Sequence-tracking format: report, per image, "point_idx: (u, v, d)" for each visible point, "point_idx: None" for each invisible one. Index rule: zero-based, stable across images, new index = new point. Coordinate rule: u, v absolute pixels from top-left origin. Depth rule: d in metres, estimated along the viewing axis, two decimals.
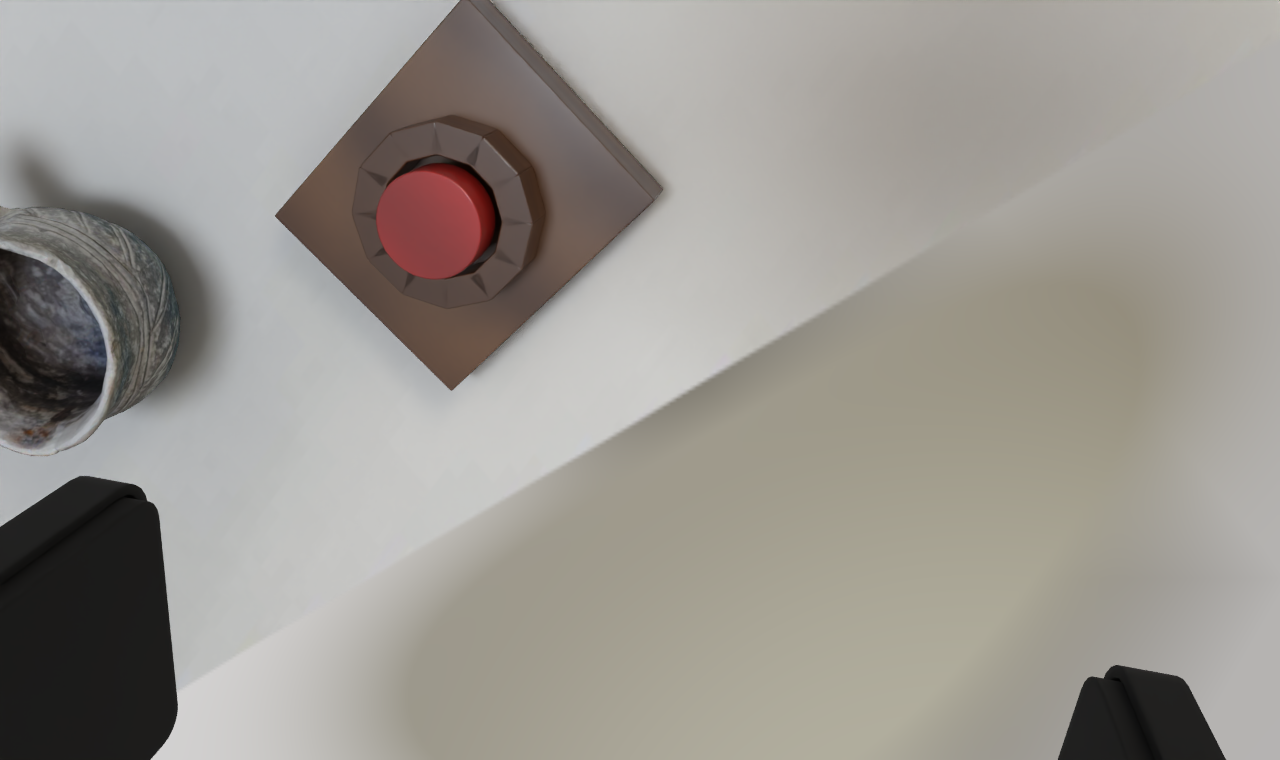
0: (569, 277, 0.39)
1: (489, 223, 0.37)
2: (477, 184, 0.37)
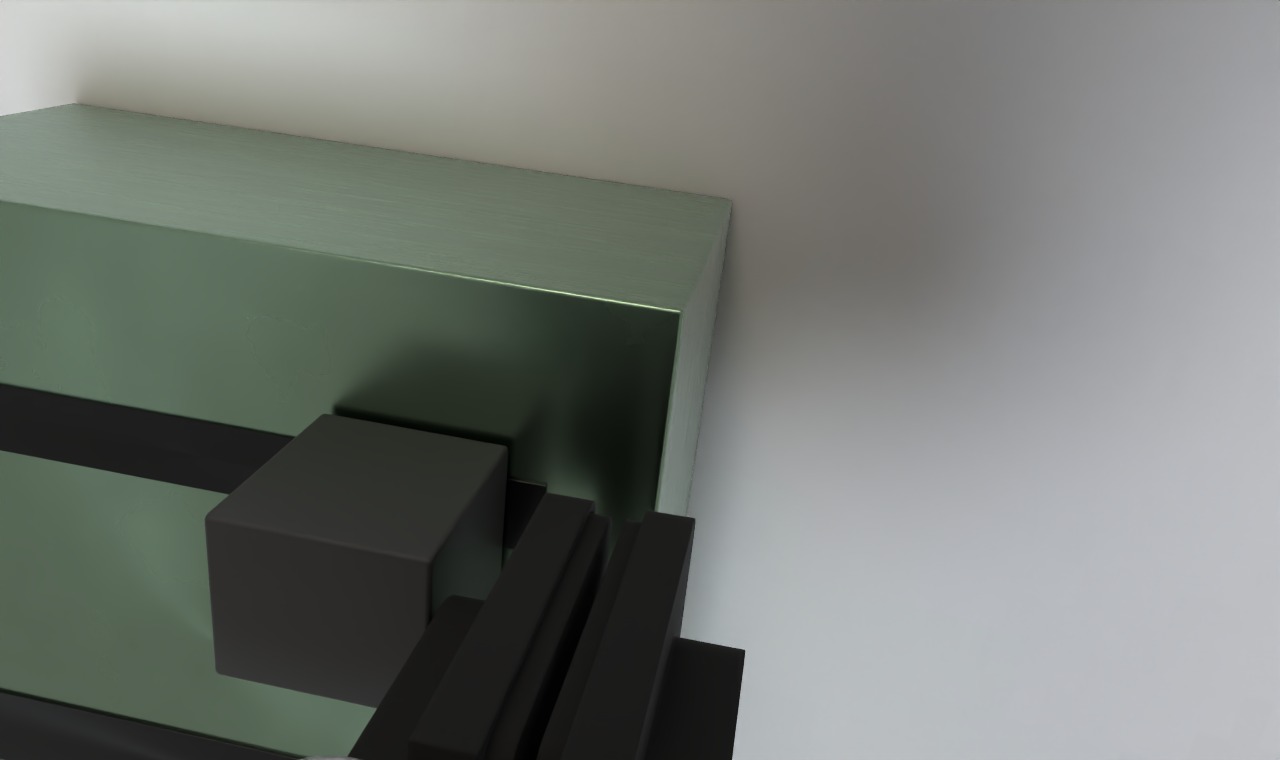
0: None
1: None
2: None
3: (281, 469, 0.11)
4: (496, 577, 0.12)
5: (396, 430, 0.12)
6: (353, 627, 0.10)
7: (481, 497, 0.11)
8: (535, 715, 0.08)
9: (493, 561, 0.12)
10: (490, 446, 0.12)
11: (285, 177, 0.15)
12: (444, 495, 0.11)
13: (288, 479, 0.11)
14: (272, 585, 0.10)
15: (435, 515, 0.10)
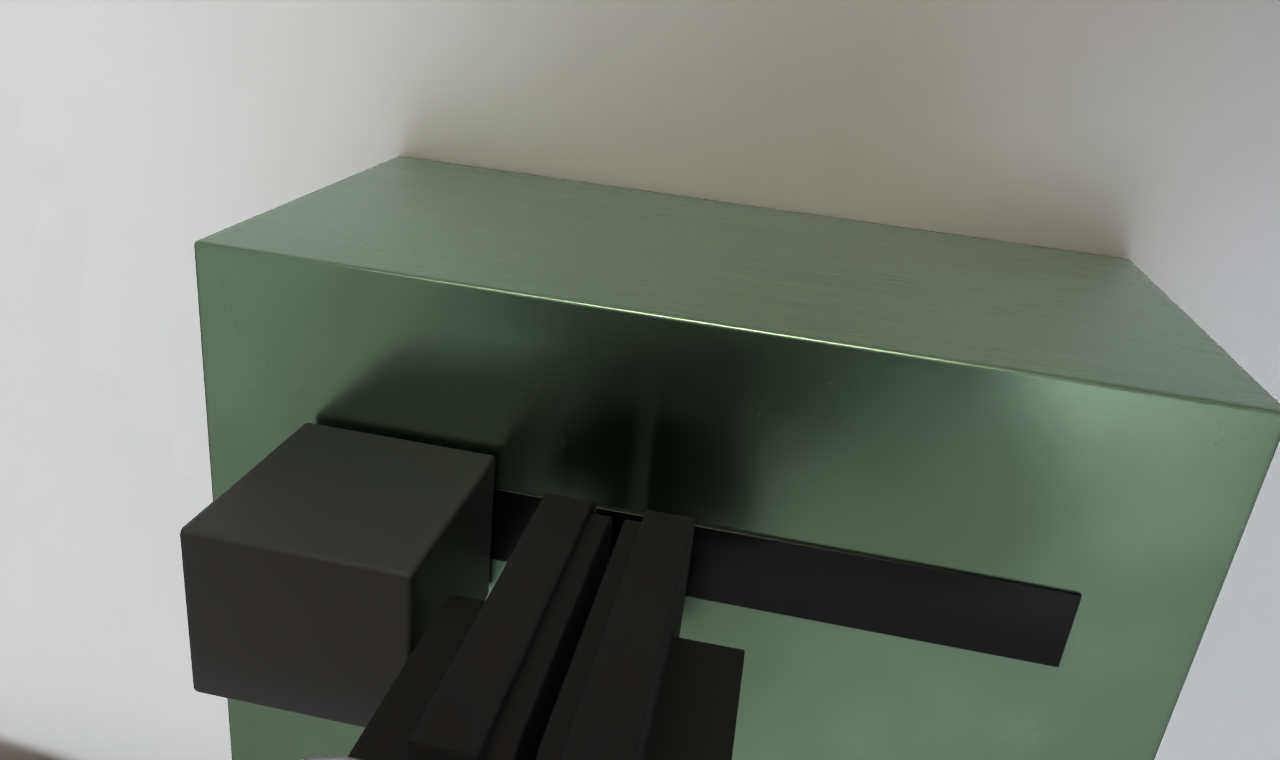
0: None
1: None
2: None
3: (262, 481, 0.11)
4: (484, 590, 0.12)
5: (381, 440, 0.12)
6: (333, 643, 0.10)
7: (467, 508, 0.11)
8: (536, 715, 0.08)
9: (480, 573, 0.12)
10: (477, 456, 0.12)
11: (705, 245, 0.14)
12: (428, 507, 0.11)
13: (268, 491, 0.11)
14: (249, 600, 0.10)
15: (418, 527, 0.10)
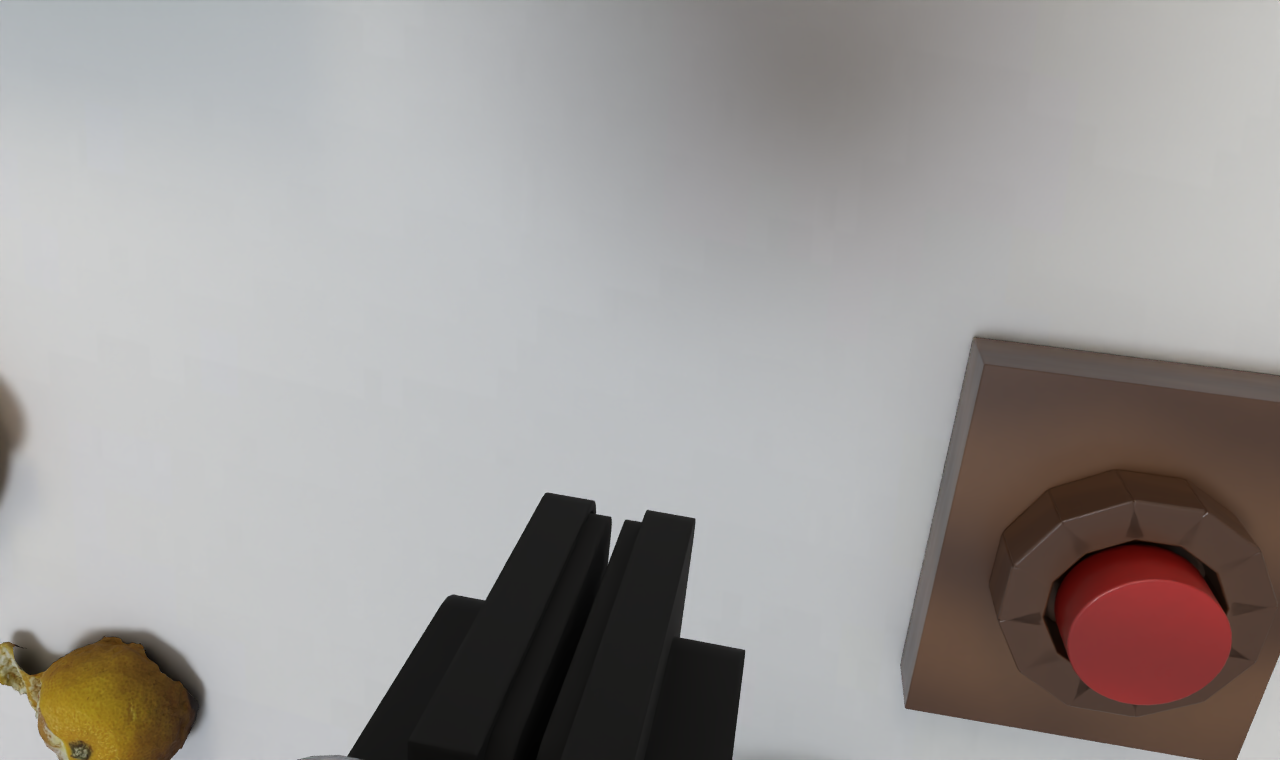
0: None
1: None
2: (1159, 554, 0.27)
3: None
4: None
5: None
6: None
7: None
8: (535, 715, 0.08)
9: None
10: None
11: None
12: None
13: None
14: None
15: None
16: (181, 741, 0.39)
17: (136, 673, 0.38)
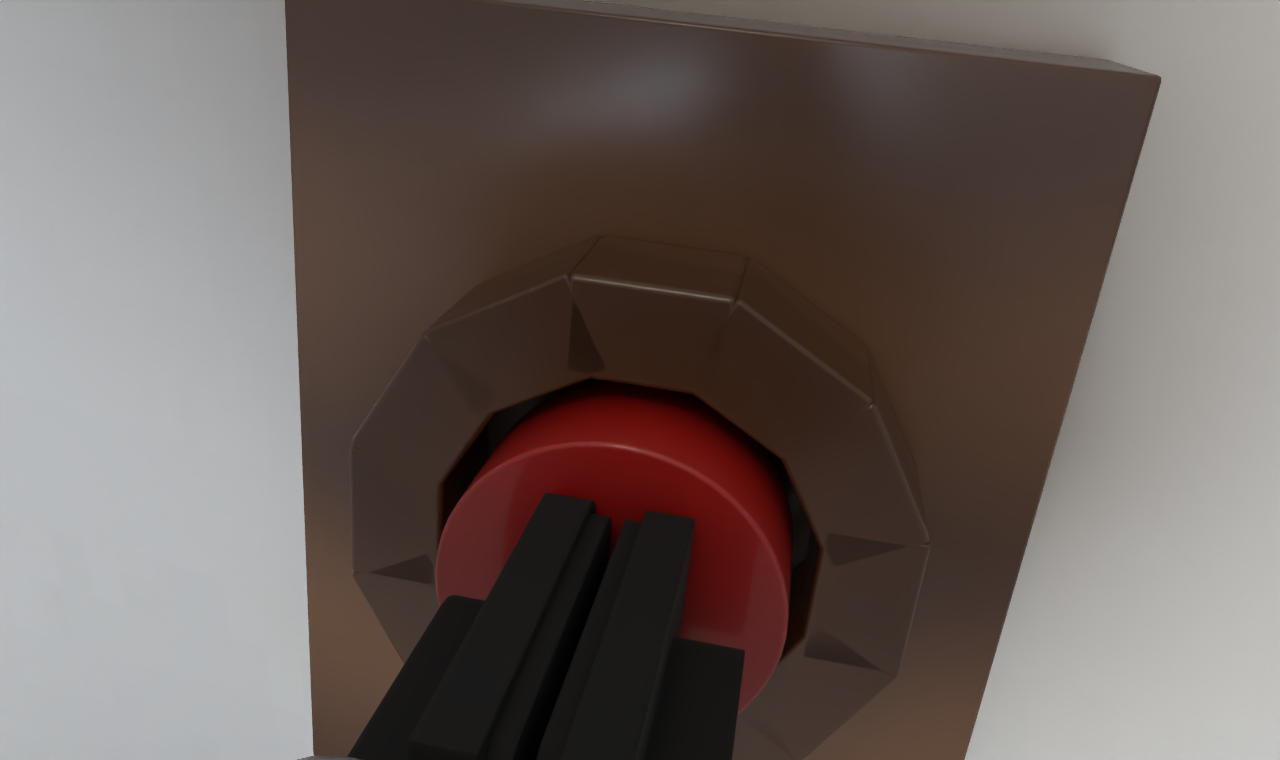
0: (1045, 459, 0.12)
1: (757, 476, 0.11)
2: (652, 398, 0.12)
3: None
4: None
5: None
6: None
7: None
8: (535, 715, 0.08)
9: None
10: None
11: None
12: None
13: None
14: None
15: None
16: None
17: None
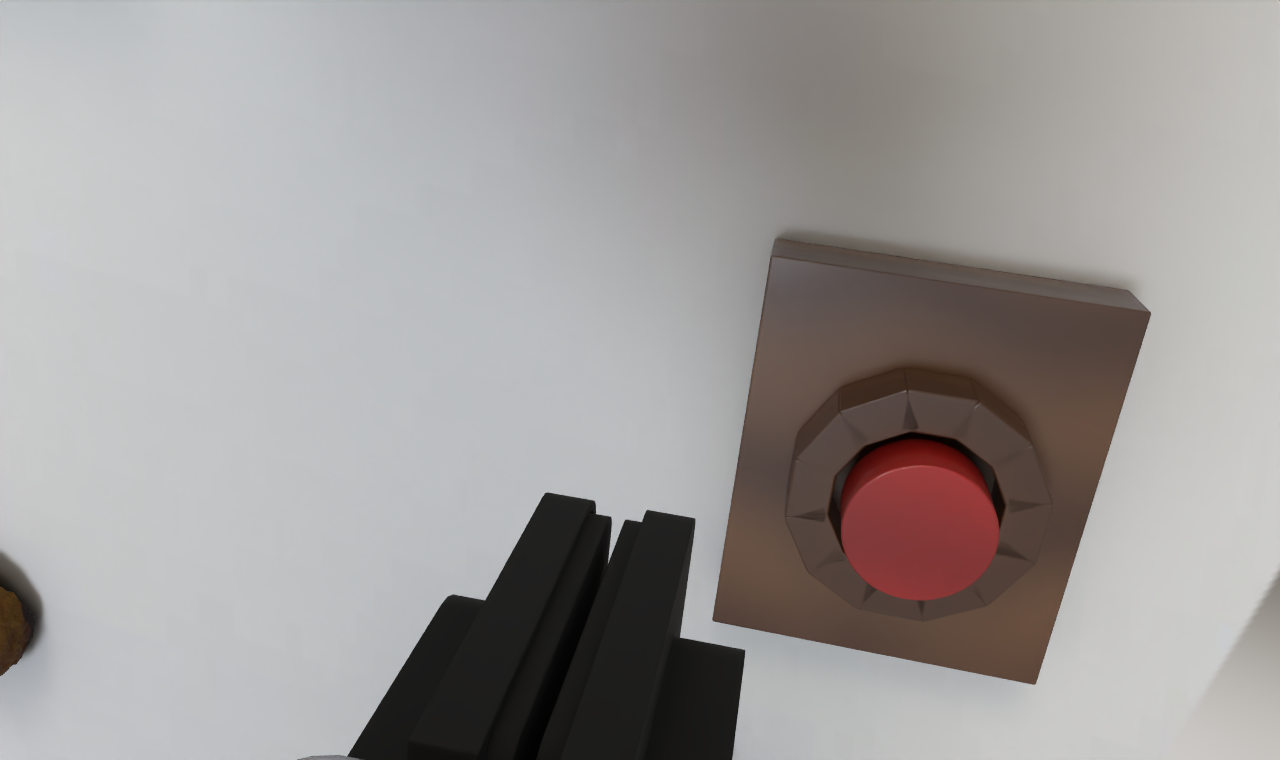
0: (1099, 469, 0.28)
1: (982, 480, 0.26)
2: (935, 446, 0.27)
3: None
4: None
5: None
6: None
7: None
8: (535, 715, 0.08)
9: None
10: None
11: None
12: None
13: None
14: None
15: None
16: (13, 654, 0.39)
17: None
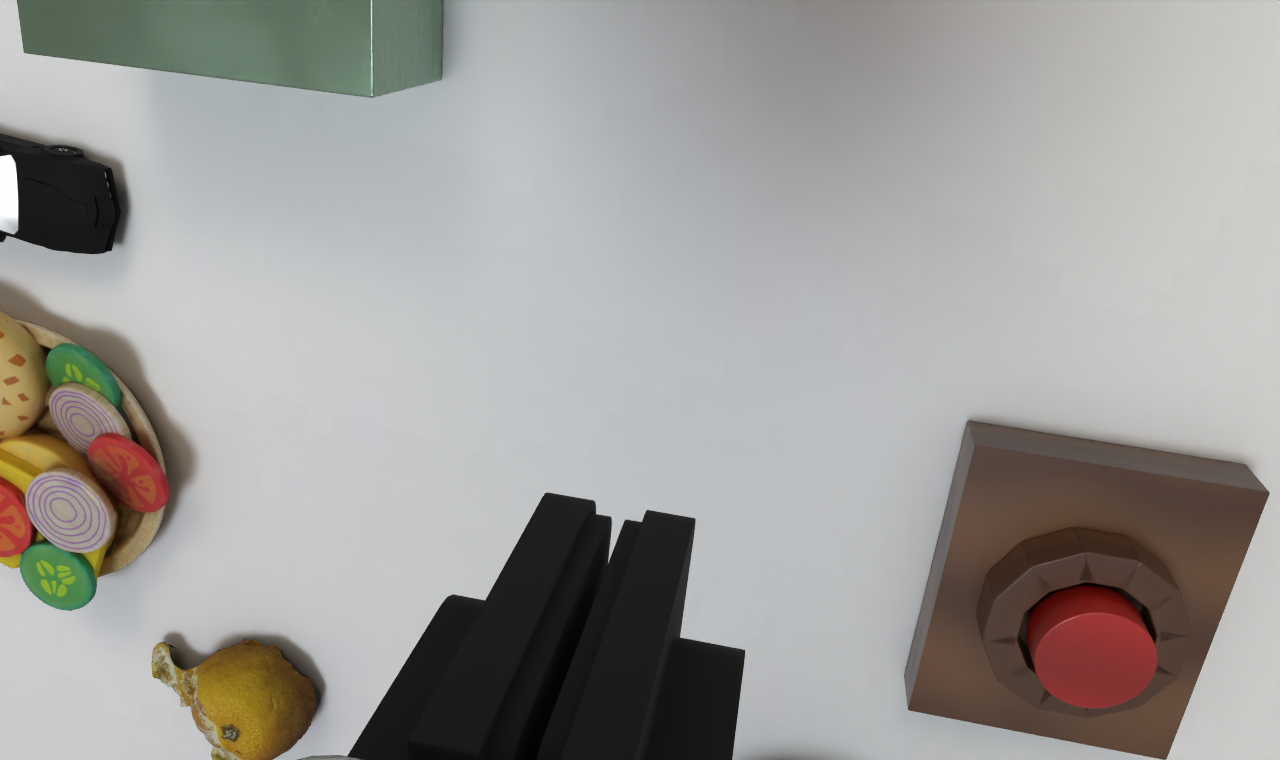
0: (1224, 603, 0.36)
1: (1142, 619, 0.35)
2: (1105, 593, 0.35)
3: None
4: None
5: None
6: None
7: None
8: (535, 715, 0.08)
9: None
10: None
11: None
12: None
13: None
14: None
15: None
16: (307, 728, 0.48)
17: (276, 670, 0.46)
